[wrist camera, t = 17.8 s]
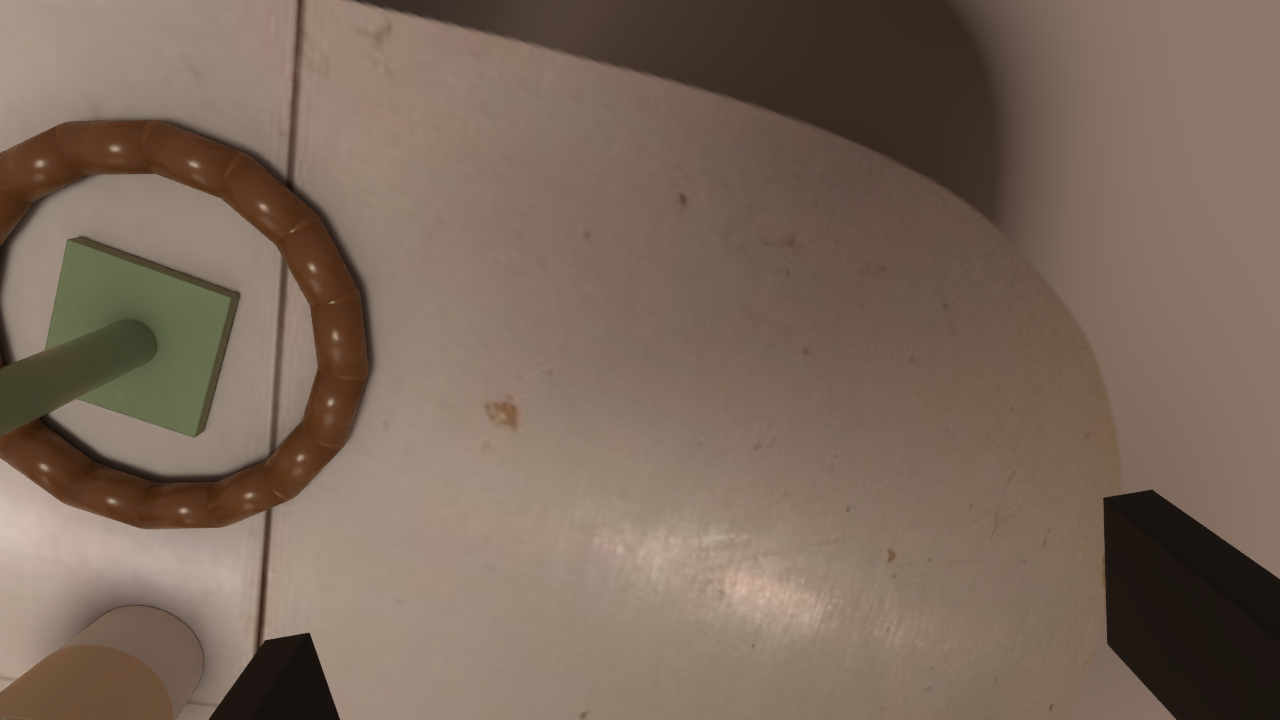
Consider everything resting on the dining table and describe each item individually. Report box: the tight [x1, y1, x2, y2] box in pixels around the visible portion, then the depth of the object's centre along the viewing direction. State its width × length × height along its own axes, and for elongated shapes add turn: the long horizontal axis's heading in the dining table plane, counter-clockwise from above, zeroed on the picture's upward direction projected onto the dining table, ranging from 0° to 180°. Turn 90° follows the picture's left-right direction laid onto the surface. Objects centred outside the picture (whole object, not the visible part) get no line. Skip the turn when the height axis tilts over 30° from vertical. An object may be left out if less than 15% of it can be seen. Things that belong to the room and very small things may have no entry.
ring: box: [0, 120, 369, 529], centre depth 40 cm, size 21×21×2 cm
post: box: [0, 237, 240, 438], centre depth 35 cm, size 8×8×13 cm
